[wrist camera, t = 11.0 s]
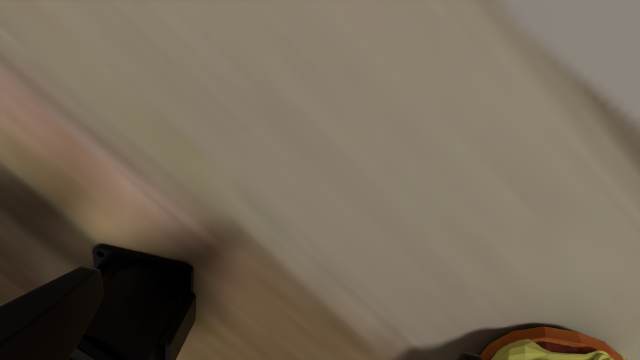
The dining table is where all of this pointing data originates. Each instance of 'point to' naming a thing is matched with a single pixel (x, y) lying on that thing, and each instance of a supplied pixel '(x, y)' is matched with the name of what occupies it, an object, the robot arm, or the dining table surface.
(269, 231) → the dining table surface
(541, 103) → the dining table surface
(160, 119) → the dining table surface
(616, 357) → the cheeseburger
